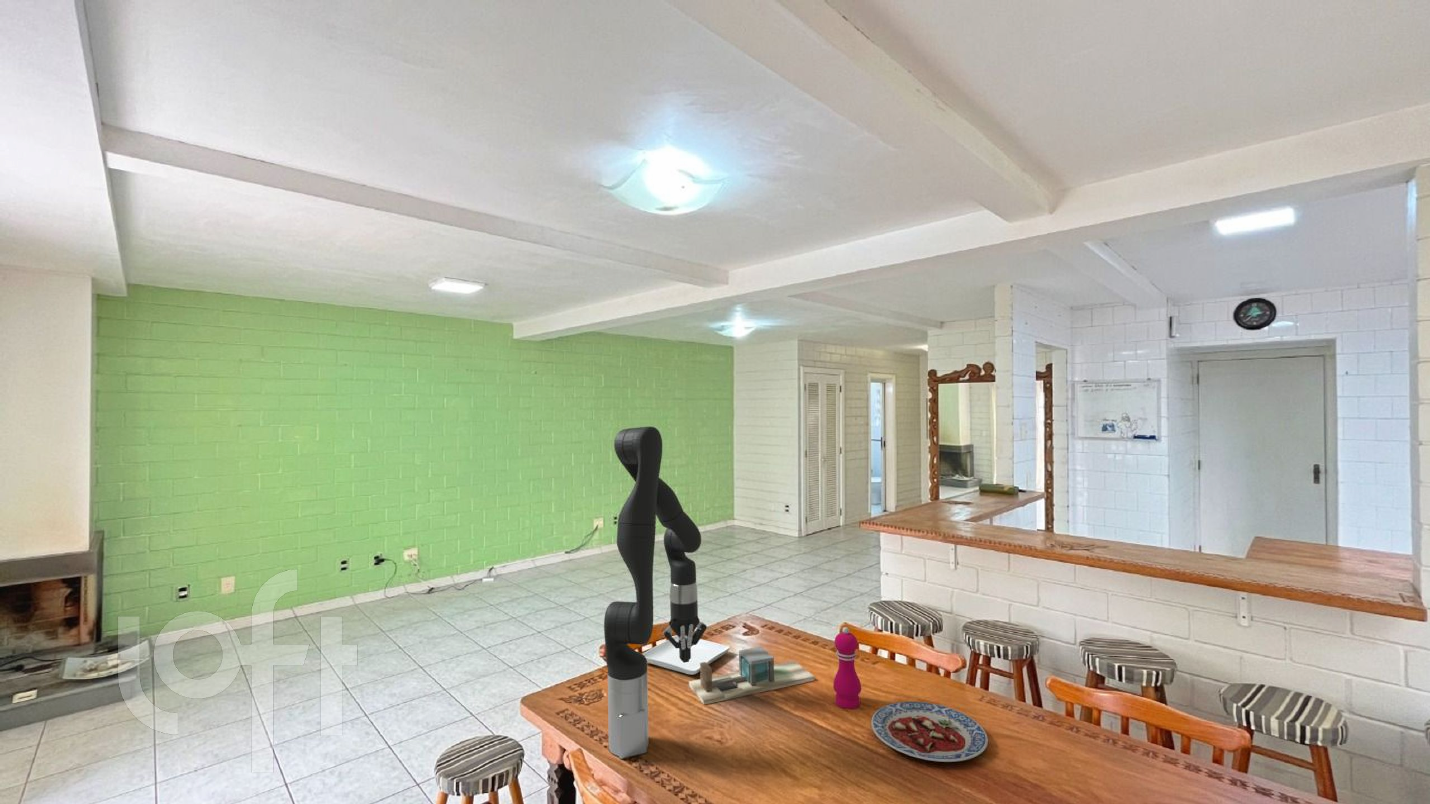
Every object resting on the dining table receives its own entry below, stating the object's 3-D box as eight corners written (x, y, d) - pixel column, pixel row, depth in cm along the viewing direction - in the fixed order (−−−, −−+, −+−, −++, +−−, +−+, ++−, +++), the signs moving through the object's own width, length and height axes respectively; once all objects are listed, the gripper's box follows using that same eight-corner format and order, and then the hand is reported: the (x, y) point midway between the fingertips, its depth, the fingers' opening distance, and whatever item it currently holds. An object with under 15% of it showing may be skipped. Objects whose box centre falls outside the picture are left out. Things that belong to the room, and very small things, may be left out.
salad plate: (732, 655, 188) (731, 645, 188) (695, 682, 169) (694, 670, 170) (678, 643, 199) (678, 633, 199) (638, 666, 181) (638, 655, 181)
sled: (768, 678, 167) (767, 657, 167) (706, 691, 160) (706, 669, 160) (760, 672, 171) (760, 651, 171) (700, 684, 164) (700, 662, 164)
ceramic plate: (912, 780, 122) (912, 765, 122) (852, 719, 147) (851, 707, 147) (1014, 758, 129) (1014, 745, 129) (940, 703, 154) (939, 692, 154)
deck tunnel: (814, 680, 168) (813, 652, 168) (703, 704, 155) (703, 674, 156) (793, 664, 179) (792, 638, 179) (689, 685, 166) (688, 657, 167)
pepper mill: (859, 697, 158) (857, 622, 158) (863, 710, 151) (861, 632, 151) (832, 696, 158) (830, 622, 159) (835, 709, 151) (833, 632, 152)
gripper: (665, 606, 155) (666, 671, 155) (711, 598, 160) (712, 662, 160) (656, 597, 162) (658, 660, 161) (701, 590, 167) (702, 651, 167)
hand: (685, 661), depth 161 cm, fingers closed
